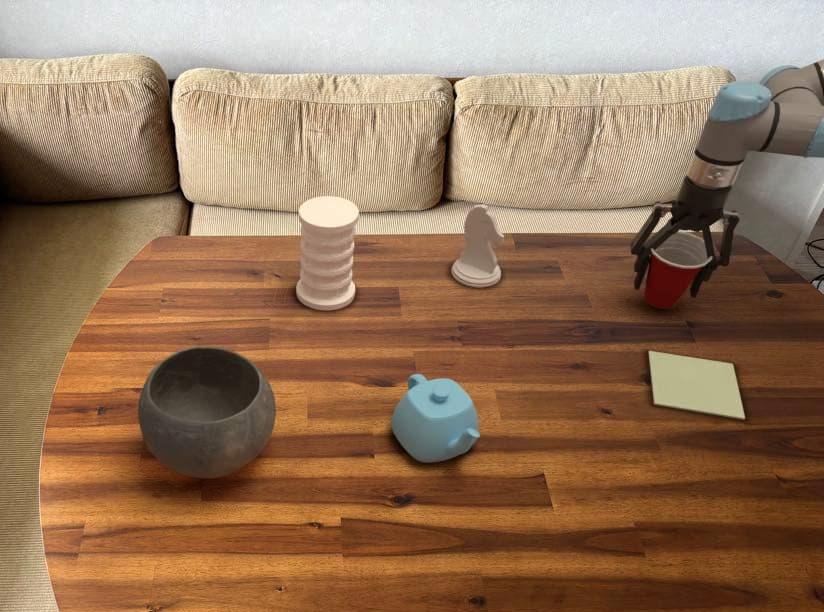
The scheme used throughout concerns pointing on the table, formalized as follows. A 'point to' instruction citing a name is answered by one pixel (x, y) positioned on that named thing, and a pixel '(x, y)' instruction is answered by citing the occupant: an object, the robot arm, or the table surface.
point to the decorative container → (327, 252)
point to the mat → (695, 385)
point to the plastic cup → (674, 268)
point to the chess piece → (479, 250)
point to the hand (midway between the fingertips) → (664, 289)
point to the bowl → (206, 411)
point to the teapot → (435, 419)
